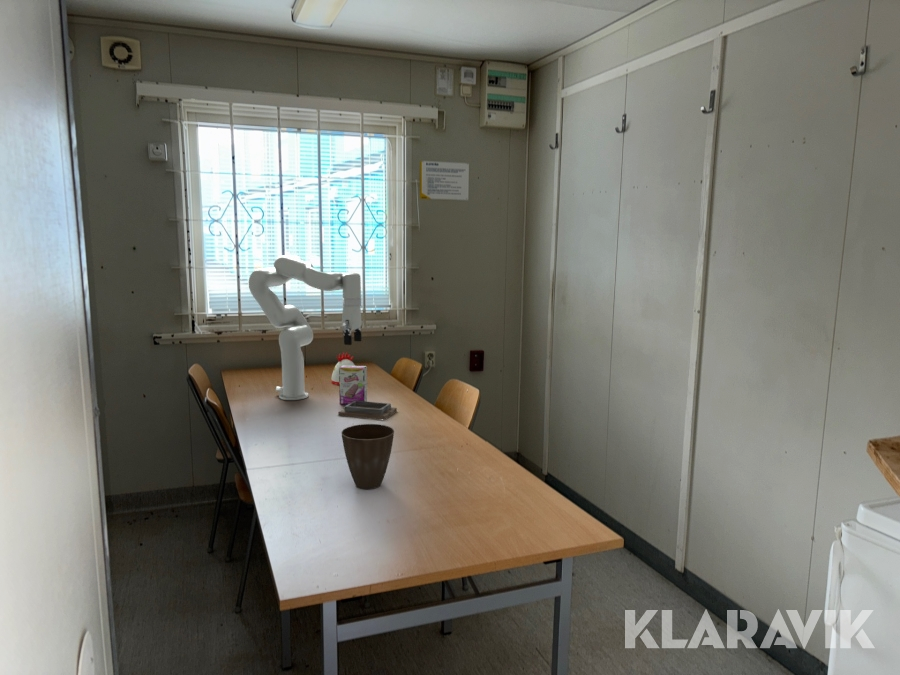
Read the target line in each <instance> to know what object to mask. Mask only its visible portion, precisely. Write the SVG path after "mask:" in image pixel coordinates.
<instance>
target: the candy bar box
mask: <svg viewBox="0 0 900 675" xmlns="http://www.w3.org/2000/svg"><path fill="white" fill-rule="evenodd" d="M367 374H368V367H367V366H366V365H355V366H348V365H342V366H341V367H339V385H338V386H339V387H338V388H339V405H345V406H346V405H348V404H350V403H352V402H353V401H366V402H368V375H367Z"/></svg>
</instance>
